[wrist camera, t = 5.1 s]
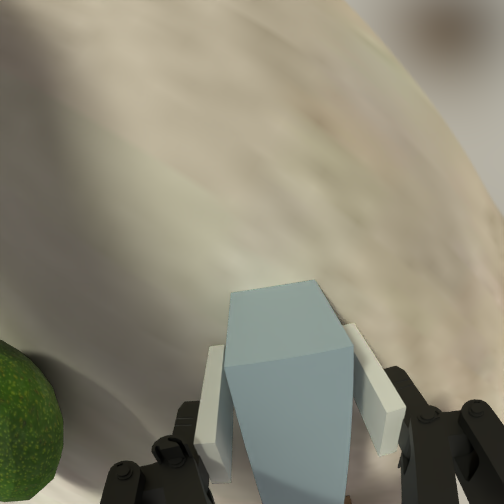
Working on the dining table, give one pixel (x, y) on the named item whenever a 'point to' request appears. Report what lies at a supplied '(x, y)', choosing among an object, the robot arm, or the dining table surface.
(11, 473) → the fruit
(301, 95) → the dining table surface
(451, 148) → the dining table surface
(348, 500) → the wooden card holder
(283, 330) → the block
